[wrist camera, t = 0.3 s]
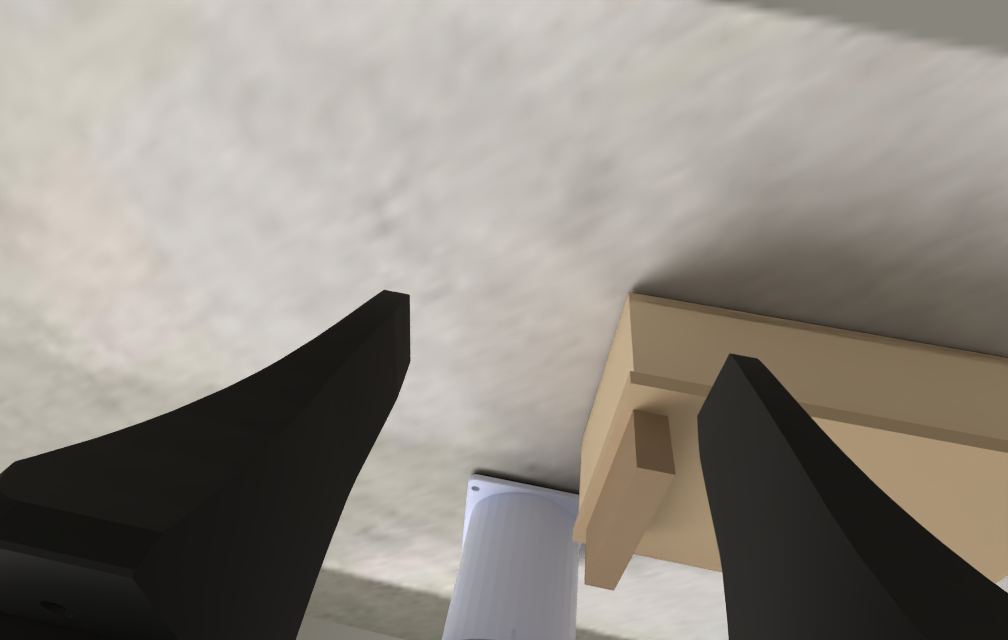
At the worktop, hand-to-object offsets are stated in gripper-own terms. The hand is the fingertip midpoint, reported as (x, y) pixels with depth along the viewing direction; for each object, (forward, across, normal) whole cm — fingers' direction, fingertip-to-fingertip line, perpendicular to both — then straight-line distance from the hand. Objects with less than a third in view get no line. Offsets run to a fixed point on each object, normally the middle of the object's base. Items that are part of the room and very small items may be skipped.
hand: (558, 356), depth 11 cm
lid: (+4, -11, +9) cm, 15 cm away
